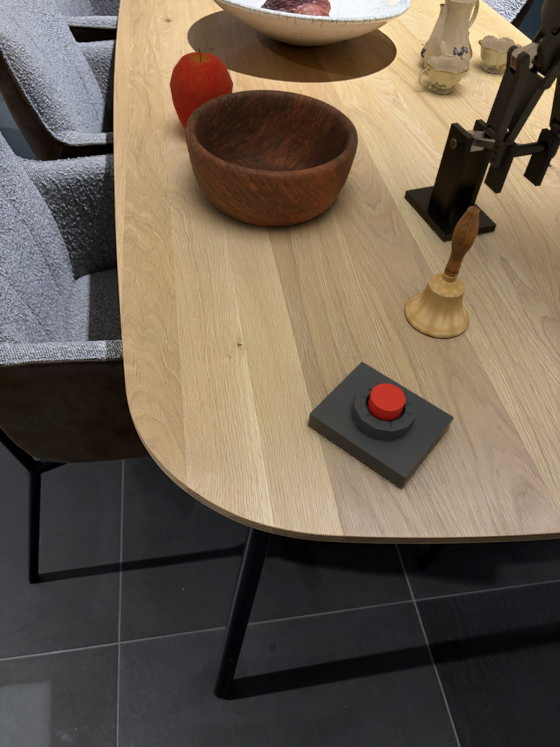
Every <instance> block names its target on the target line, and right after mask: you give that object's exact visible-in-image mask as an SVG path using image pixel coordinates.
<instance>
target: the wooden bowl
mask: <svg viewBox="0 0 560 747" xmlns="http://www.w3.org/2000/svg"><path fill="white" fill-rule="evenodd" d="M184 129H185V130H184V134H185V143H186V147H187V148H186V149H187V153H188V157H189V161H190V165H191V168H192V172H193V175H194V178H195V180H196V183H197V185H198V187H199V188H200V190H201V192H202V193H203V195H204V196H205V197H206V199H207V200H208V201H209V203H210V204H211V205H212V206H214V207H215V208H216V209H217V210H218V211H220V212H221V213H223V214H224V215H226V216H228V217H229V218H232V219H234V220H237V221H239V222H243V223H246V224H250V225H254V226H262V227H287V226H292V225H298V224H302V223H305V222H307V221H310V220H312V219H314V218H316V217H318V216H319V215H321V214H323V213H324V212H325V211H326V210H327V209H329V207H331V205H332V204H334V202H335V200H336V199H337V198H338V196H339V195H340V194H341V192H342V191H343V189H344V186H345V185H346V183H347V180H348V179H349V178H348V177H349V176H350V173H351V170H352V166H353V163H354V160H355V158H356V154H357V149H358V146H359V136H358V132H357V129H356V126H355V124H354V123H353V122H352V120H351V119H350V118H349V117H348V116H347V115H346V114H345V113H344V112H342V111H341V110H340V109H338V108H337V107H335V106H333V104H330V103H328V102H326V101H323V100H321V99H318V98H315V97H313V96H310V95H306V94H302V93H298V92H293V91H286V90H277V89H276V90H275V89H250V90H240V91H235V92H234V91H233V92H232V93H230V94H226V95H222V96H219V97H216V98H214V99H212V100H210V101H208V102H206V103H204V104H202V105H201V106H200V107H198V108H197V109H196V110H195V111H194V112H193V113H192V114H191V115H190V117H189V119H188V121H187V124H186V128H184Z"/></svg>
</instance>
